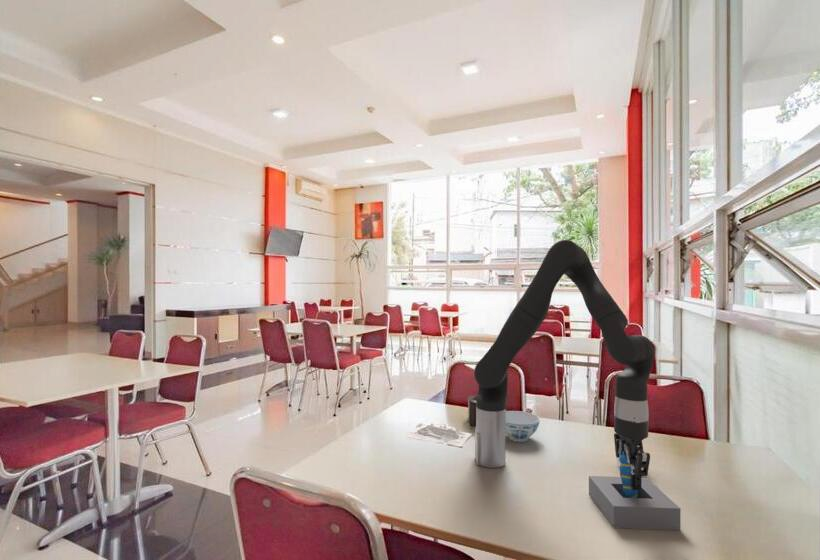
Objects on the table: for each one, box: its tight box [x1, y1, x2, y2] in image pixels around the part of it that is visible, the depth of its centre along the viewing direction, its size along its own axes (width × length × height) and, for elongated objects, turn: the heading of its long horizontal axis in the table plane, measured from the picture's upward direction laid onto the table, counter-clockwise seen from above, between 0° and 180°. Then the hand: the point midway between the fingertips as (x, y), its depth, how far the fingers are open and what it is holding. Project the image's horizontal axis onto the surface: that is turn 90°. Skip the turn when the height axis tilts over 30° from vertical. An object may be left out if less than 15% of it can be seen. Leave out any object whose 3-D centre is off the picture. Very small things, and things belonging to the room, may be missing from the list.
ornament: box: [619, 454, 638, 498], centre depth 102 cm, size 5×5×15 cm
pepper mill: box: [467, 394, 478, 427], centre depth 169 cm, size 16×11×18 cm
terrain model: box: [405, 422, 473, 448], centre depth 152 cm, size 17×23×5 cm
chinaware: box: [506, 410, 541, 443], centre depth 150 cm, size 15×15×8 cm
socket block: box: [588, 475, 681, 531], centre depth 102 cm, size 15×15×5 cm
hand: (630, 483), depth 102 cm, fingers closed on ornament, 5 cm apart
